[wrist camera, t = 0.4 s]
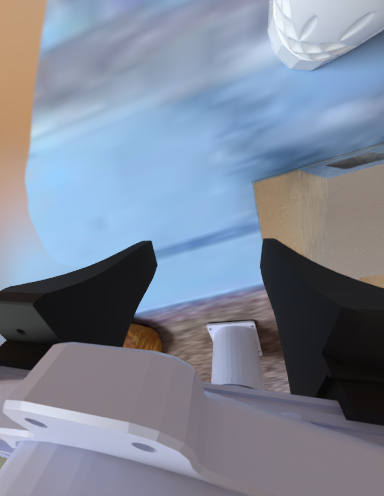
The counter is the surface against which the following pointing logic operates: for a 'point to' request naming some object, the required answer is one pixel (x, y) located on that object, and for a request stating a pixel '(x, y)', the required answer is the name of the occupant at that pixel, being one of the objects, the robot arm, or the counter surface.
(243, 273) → the counter surface
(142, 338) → the croissant
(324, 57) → the white cup
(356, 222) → the bearing block
